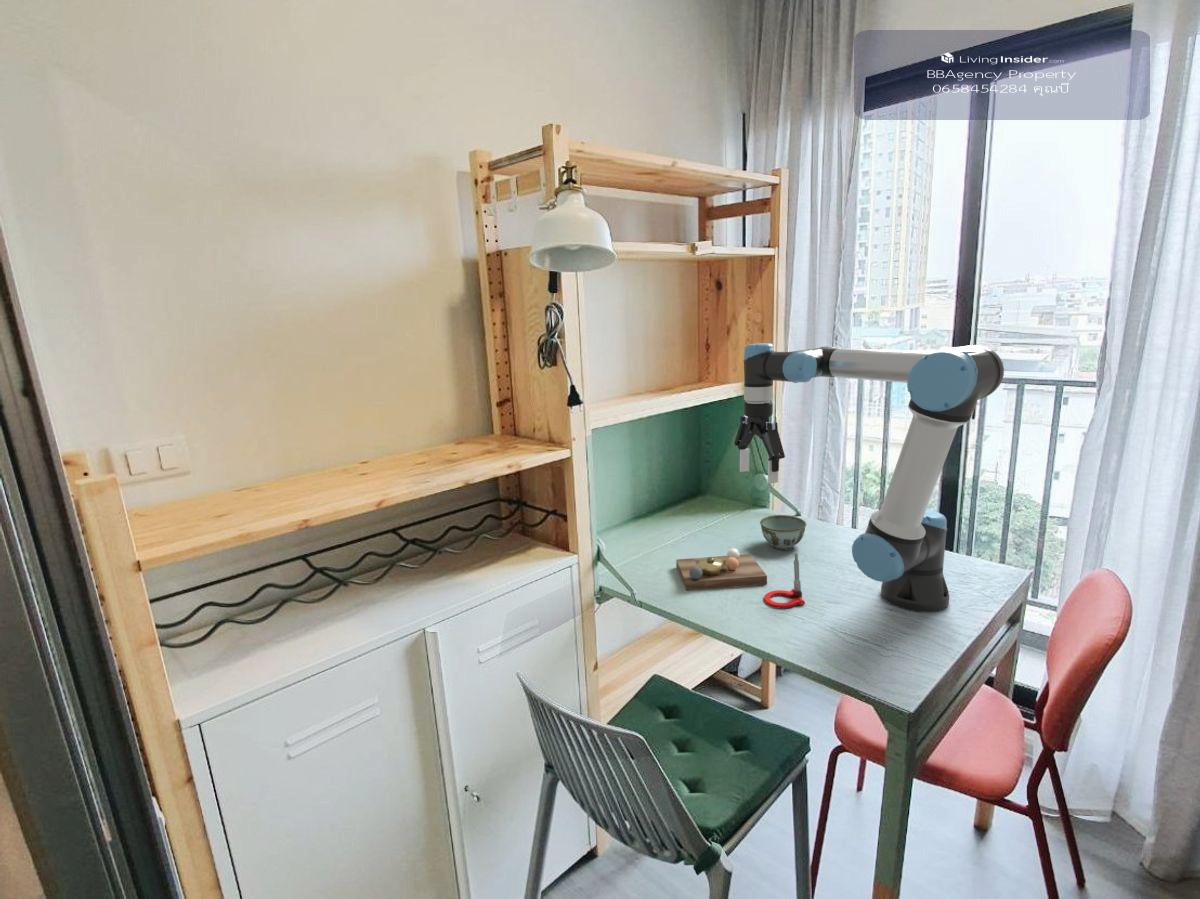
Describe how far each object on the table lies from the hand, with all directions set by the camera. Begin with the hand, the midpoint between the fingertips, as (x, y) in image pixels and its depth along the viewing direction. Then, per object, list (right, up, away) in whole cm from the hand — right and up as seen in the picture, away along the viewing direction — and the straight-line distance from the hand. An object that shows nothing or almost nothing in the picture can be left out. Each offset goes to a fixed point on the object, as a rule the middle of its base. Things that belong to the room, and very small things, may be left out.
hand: (758, 476), depth 168 cm
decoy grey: (-18, -26, -5) cm, 32 cm away
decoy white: (-6, -23, +5) cm, 24 cm away
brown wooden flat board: (-10, -28, +2) cm, 30 cm away
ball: (-7, -24, -1) cm, 25 cm away
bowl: (+13, -23, +20) cm, 33 cm away
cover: (-13, -26, -1) cm, 29 cm away
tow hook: (+3, -31, -14) cm, 34 cm away
